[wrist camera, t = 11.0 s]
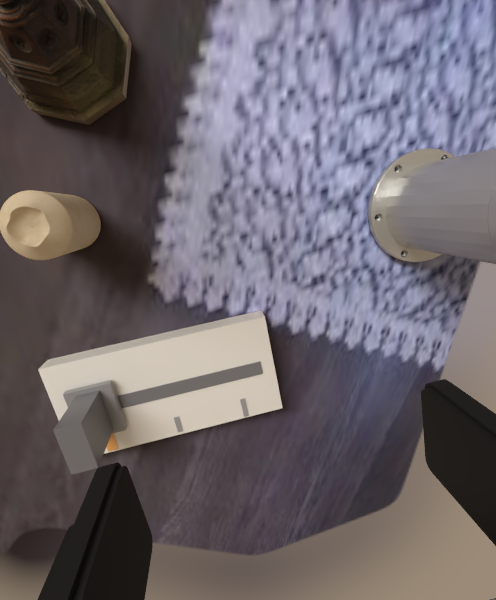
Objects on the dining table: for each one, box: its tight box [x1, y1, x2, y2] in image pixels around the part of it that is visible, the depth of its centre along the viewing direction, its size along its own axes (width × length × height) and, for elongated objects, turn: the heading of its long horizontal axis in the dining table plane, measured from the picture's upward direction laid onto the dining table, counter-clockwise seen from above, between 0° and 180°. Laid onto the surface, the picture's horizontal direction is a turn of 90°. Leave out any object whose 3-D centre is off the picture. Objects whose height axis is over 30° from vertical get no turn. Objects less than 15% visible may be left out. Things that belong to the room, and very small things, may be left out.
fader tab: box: [53, 380, 127, 474], centre depth 35 cm, size 5×6×7 cm
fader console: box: [38, 311, 282, 454], centre depth 40 cm, size 25×12×3 cm, turn 101°
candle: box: [0, 190, 101, 260], centre depth 31 cm, size 6×6×10 cm
